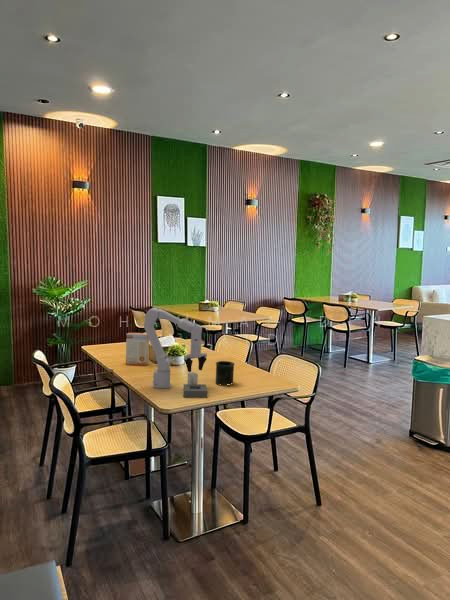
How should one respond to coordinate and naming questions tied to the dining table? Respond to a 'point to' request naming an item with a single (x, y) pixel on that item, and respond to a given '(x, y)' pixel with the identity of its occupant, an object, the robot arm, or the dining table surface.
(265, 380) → the dining table surface
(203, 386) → the socket block
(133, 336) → the cracker box
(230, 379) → the mug
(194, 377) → the steel peg
